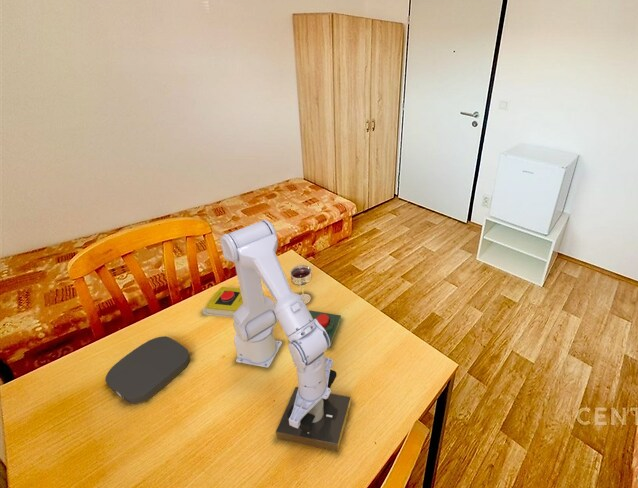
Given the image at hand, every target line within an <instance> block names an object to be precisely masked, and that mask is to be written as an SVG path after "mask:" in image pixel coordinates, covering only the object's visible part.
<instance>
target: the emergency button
mask: <svg viewBox="0 0 638 488" xmlns="http://www.w3.org/2000/svg"><path fill="white" fill-rule="evenodd" d="M242 304H243V300H242V295H241V291H240V287H231V286H221V287H219V289H217V291H216V292H215V293H214V295H213V296H212V297H211V298H210V300H208V301H207V303H206V305H205V307H204V308H203V309H202V314H203V315H206V316H215V317H225V318H233V317H234V315H233V314H234V313H235V312H236V311H237V309H238V308H239V307H240V306H241V305H242Z"/></svg>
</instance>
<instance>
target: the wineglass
mask: <svg viewBox="0 0 638 488" xmlns="http://www.w3.org/2000/svg"><path fill="white" fill-rule="evenodd" d="M312 270H313V269H312V268H311V266H309V265H307V264H299V265H296V266H294V267H293V268H291V270H290V272H289V274H290V277H289V278H290V279H289V280H290V282H291V283H292V285H293V286H296V287H300V289H301V294H300V295H301V297H302V299H303V301H304V303H305V305H306V304H308V303H309V302H310V301H311V299H312V297H311V295H309V294H308V293H305V289H304V288H305V286H307V285H309V284H310V283H311V281H312V278H313V273H312V272H313V271H312Z"/></svg>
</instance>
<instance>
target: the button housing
mask: <svg viewBox="0 0 638 488" xmlns="http://www.w3.org/2000/svg"><path fill="white" fill-rule="evenodd" d="M308 310H309V309H308ZM309 312H310V314H311V316H312V318H313V320H314V319H317V317H318V316H319V315H321V314H326V315H328V317H329V324H328V325H327V326H326V327H324V329H325V331H326V332H327V334H328V337H329V339H330V347H329V348H331V347H332V345H333V343H334V340H335V337H336V335H337V331H338V330H339V326H340V324H341V321H342V316H341V315H340V314H334V313H328V312H322V311H316V310H309ZM329 348H328V349H329Z"/></svg>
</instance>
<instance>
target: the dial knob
mask: <svg viewBox="0 0 638 488" xmlns="http://www.w3.org/2000/svg"><path fill="white" fill-rule="evenodd" d="M308 413H310V414H312V415H314V416H315V418H314V420H313V422H312V423H315V422H318V421H319V420H320V419H321V418H322V417H323V414H324V404H323V399H321V400H320V401H319V402H318V403H317V404H316V405H315V406H314V407H313V408H312V409H311V410H310V411H309V412H308Z"/></svg>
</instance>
